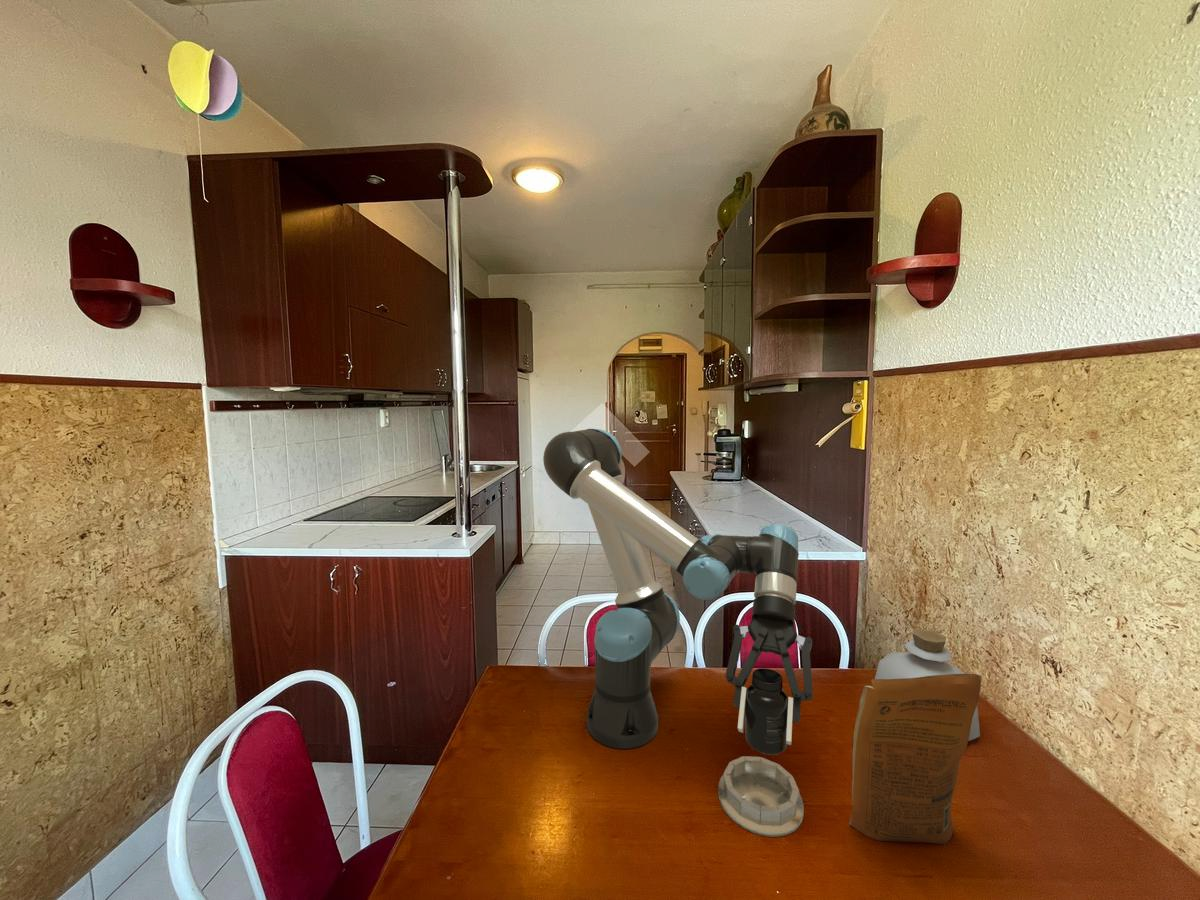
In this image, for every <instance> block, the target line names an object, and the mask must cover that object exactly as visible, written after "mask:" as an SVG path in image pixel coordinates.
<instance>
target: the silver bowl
mask: <svg viewBox="0 0 1200 900" xmlns="http://www.w3.org/2000/svg"><path fill="white" fill-rule="evenodd" d="M717 790H718V793H717V794H718V800H719V803H720V806H721V807H722V809H723V811H724V812H725V814H726V815H727V817H729V819H731V820H732V821H733V822H734V823H735V824H737V825H738V826H740V827H741V828H742V829H745V830H746V831H749V833H753V834H756V835H759V836H764V837H771V838H780V837H784V836H788V835H790V834H792V833H794V832H796V831H797V830H798V829H799V827H801V825H802V822H803V819H804V813H805V812H804V809H805V807H804V801H803V798H802V796H801V794H800V789H799V787H798V785H797V782H796V781H795V778H794V777H793V775H792V774H791V773H790V772H788V770H786V769H785V768H784V767H783V766H781V764H779V763H776V762H774V761H771V760H769V759H767V758H765V757H761V756H747V755H746V756H745V755H743V756H739V757H737V758H736V759H733V760H731V761H729V762H728V765H727V766H726V768H725V770H724V772H723V774H722V775H721V777H720V778H719V782H718V789H717Z"/></svg>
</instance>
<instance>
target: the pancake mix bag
mask: <svg viewBox="0 0 1200 900" xmlns="http://www.w3.org/2000/svg"><path fill="white" fill-rule="evenodd" d="M982 676H983V675H980V674H978V673H966V674H945V675H933V676H924V677H917V678H900V679H875V678H873V679H871V685H864V686H863V689H862V692H861V695H860V699H859V705H858V706H859V707H858V712H857V715H856V719H855V725H854V728H853V729H854V731H853V746H852V766H851V767H852V783H851V804H852V805H851V806H852V811H851V814H850V817H849V818H850V819H849V823H848V825H849V826H851V827H852V828H854V829H855V830H857V831H858V832H860V833H861V834H863V835H864V836H866V837H867V838H869V839H870V838H871V839H873V840H876V841H879V842H897V843H898V842H902V843H927V844H937V845H946V844H947V843H948V842H950V840H951V839H952V835H953V831H954V824H953V823H954V822H953V817H952V809H951V808H952V804H953V803H952V800H953V797H954V796H953V795H954V793H955V789H956V786H957V784H958V777H959V769H960V761H961V758H962V756H963V755H964V752H965V750H966V748H967V746H968V743H969V741H968V740H969V734H970V729H971V724H972V719H973V715H974V712H975V710H976V707H977V708H978V703H979V699H980V693H981V689H982V679H983V677H982Z"/></svg>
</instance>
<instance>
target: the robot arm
mask: <svg viewBox="0 0 1200 900" xmlns="http://www.w3.org/2000/svg"><path fill="white" fill-rule="evenodd" d="M622 454H623V453H622V447H621V444H620V443H619V441H618V439H617V438H616V437H615V436H614V435H613V434H612V433H610V432H608V431H607V430H604V429H600V428H587V429H582V430H574V431H566V432H565V431H564V432H561V433H559V434H557V435H555V436H553V437H552V438H551V439H550V440H549V441H548V442H547V444H546V447H545V448H544V451H543V456H542V457H543V458H542V459H543V460H542V461H543V466H544V470H545V472H546V475H547V476H548V477H549V479H550V481H552V482H553V484H554V485H555V486H556V487H558V488H559V490H561V491H562V492H563V493H565V494H566V495H567V496H568V497H570V498H571V499H573V500H576V499H581V500H582V501H583V502H585V503H586V504H587V505H588V509H589V512H590V514H591V517H592V520H593V523H594V526H595V529H596V531H597V535H598V537H599V539H600V543H601V545H602V549H603V552H604V554H605V558H606V560H607V563H608V566H609V568H610V571H611V574H612V577H613V581H614V583H615V586H616V588H617V592H618V593H617V596H615V597H616V598H615V600H614V603H615V606H616V608H617V609H616V610H614V609H611V610H609V611H607V612H605V613H604V614H603V615H602V616H601V617H600V618H599V619H598V621H597V623H596V625H595V634H594V638H593V640H594V641H593V643H594V673H595V675H594V683H595V684H594V691H593V694H592V697H591V700H590V703H589V706H588V708H587V713H586V727H587V731H588V733H589V734H590V735H591V737H592V738H593V739H595V741H597V742H598V743H600V744H602V745H603V746H607V747H610V748H615V749H623V750H625V749H627V750H629V749H634V748H638V747H640V746H641V747H642V746H644V745H645V744H647V743H649V742H650V741H651V740H653V739H654V738H655V736H656V735H657V732H658V728H659V714H658V711H657V709H656V705H655V701H654V698H653V695H652V691H651V669H652V668H651V667H652V663H653V662H654V661H655V659H656V658H657V657H658V656H659V655H660V653H661V652H662V651H663V650H664V649H665V647H666V646H667V645H669V643H670V642H671V641H672V640H673V639H674V638H675V635H676V633H677V631H678V630H679V625H680V623H681V622H680V621H681V616H680V615H681V614H680V610H679V607H678V605H677V603H676V601H675V600H674V599H673V597H672V596H669V595H668V594H667V593H666V592H664V589H663V585H662V584H661V583H659V582H657V581H655V580H654V579H653V577H652V575H651V570H650V568H649V565H648V562H647V560H646V557H645V555H644V552H643V549H642V546H643V547H644V548H646V550H649V552H651V553H652V554H654V555H655V556H656V557H657V558H659V559H660V560H662V561H663V562H664V563H665V564H667V565H668V566H670V567H671V568H672V569H673V570H675V571H676V572H677V573H678V574H680V575H681V576H682V577H683V578H682V579H683V581H682V582H683V584H684V587H685V588H686V590H687V591H688V593H690V595H691V596H693V597H694V598H696V599H699V600H702V601H711V600H713V599H715V598H717V597H718V596H719V595H720V594H721V593H723V592H724V591H725V590H727V588H728V587H729V585H730V583H731V582H732V580H733V579H734V578H735V577H736V575H737V574H738V573H740V574H753V575H754V574H755V580H754V581H755V582H754V592H753V593H754V594H753V596H754V599H753V602H752V603H753V604H752V612H751V619H750V622H749V624H748V625H745V626H744V625H742V626H740V625H739V624H734V625H733V627H732V630H733V636H734V638H733V641H732V645H731V646H732V647H731V650H730V655H729V659H728V662H727V667H726V671H725V678H726V682H727V683H728V684H731V685H732V686H734V687H735V688H734V695H733V706H734V708H735V709H739V711H738V720H737V721H738V722H737V730H738V732H739V733H742V734H744V733H745V731H744V730H745V715H746V691H747V689H748V687H745V685H746V683H747V681H748V680H749V677H750V675H751V673H752V672H753V669H754V668H755V665H756V663H757V661H758V659H759V658H760V656H761V654H762V653H772V654H774V655H777V656H778V655H779V656H780V658H781V662H782V665H783V668H784V671H785V675H786V679H787V683H788V686H789V689H790V693H791V696H792V697H791V696H787V697H788V715H787V734H786V744H787V745H789V746H792V734H793V722H794V723H797V724H799V723H800V722H801V707H802V703H803V702H804V701H805V702H806V701H812V700H813V697H814V696H813V695H814V691H813V679H812V678H813V677H812V664H811V655H810V653H811V650H812V646H813V639H812V638H811V637H809V636H807V637H805V636H801V635H799V634H797V631H796V628H795V625H796V624H795V622H796V606H795V605H796V603H797V601H796V600H797V599H796V598H797V587H798V586H797V585H798V584H797V583H798V581H797V579H798V564H799V555H800V554H799V537H798V534H797V532H796V531H795V530H794V529H793V528H791V527H789V526H786V525H783V524H778V523H777V524H776V523H772V524H769V525H764V526H763V527H762V528H761V530H760V532H759V535H758V536H757V535H753V536H750V535H749V536H746V535H745V536H744V535H725V534H724V535H722V534H718V533H717V534H712V535H711V534H710V535H703V536H702V537H701V538H700V539H699V538H698V537H696V536H695V535H693V534H692V533H691V532H689V531H688V530H686V529H685V528H683V527H682V526H681V525H679V524H678V523H677V522H676V521H674V520H673V519H671V518H669V517H668V515H666V514H664V513H662V512H661V511H660V510H659V509H658V508H656V507H654V505H652V504H651V503H649V502H647V501H646V500H645V499H643V498H642V497H640V496H639V495H637V494H636V493H635V492H634V491H632V490H631V489H629V488H628V487H626V486H625V485H624V484H623V483H621V480H622V478H623V474H622V470H621V468H620V464H621V460H622V457H623V456H622ZM748 634H749V635H750V637H751V639H752V641H753V644H752V646H751V650H750V652H749V654H748V655H747V657H746V659H745V661H744V662H743V665H742V667H741V669H740V671H739V673H738V675H737V676H736V671H737V667H738V662H739V658H740V654H741V649H742V643H743V640H745V639H746V636H747V635H748ZM794 643H797V645H798V646H797V647H798V649H799V650H800V651H801V663H802V664H801V665H802V675H803V676H802V678H803V689H804V690H801V689H800V687H799V683H798V680H797V677H796V674H795V669H794V668H793V664H792V661H791V658H790V653H789V649H790V648H791V647H792V646H793V645H794Z"/></svg>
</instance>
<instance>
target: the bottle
mask: <svg viewBox="0 0 1200 900" xmlns="http://www.w3.org/2000/svg"><path fill="white" fill-rule="evenodd" d="M946 642H947V636H946V635H944V634H942V633H940V632H938V631H936V630H934V629H928V628H927V629H926V628H925V629H924V628H913V631H912V639H911V640H909V641H908V642H907V643H905V644H904V647H905V648H906V649H907V652H906V651H905V652H901V651H900V652H897V651H896V652H889V653H887V655H885V656H884V657H883V658H881V659H880V660H879V662H878V665H877V669H876V673H875V676H874V679H900V678H917V677H924V676H933V675H945V674H967V673H966V672H964V671H963V670H961V669H959V668H958V667H957V666H955V665H953V664H952V663H950V662H949V661H951V660H952V659H953V658H952V653H951V652H950V650H949V649H948V648H947V647H945V645H946ZM978 708H979V707H978V706H977V707H976V710H975V712H974V715H973V719H972V724H971V729H970V734H969V740H968V742H971V741H973V740H975V739H977V738H979V737H981V731H980V722H979V721H980V720H979V711H978Z"/></svg>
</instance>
